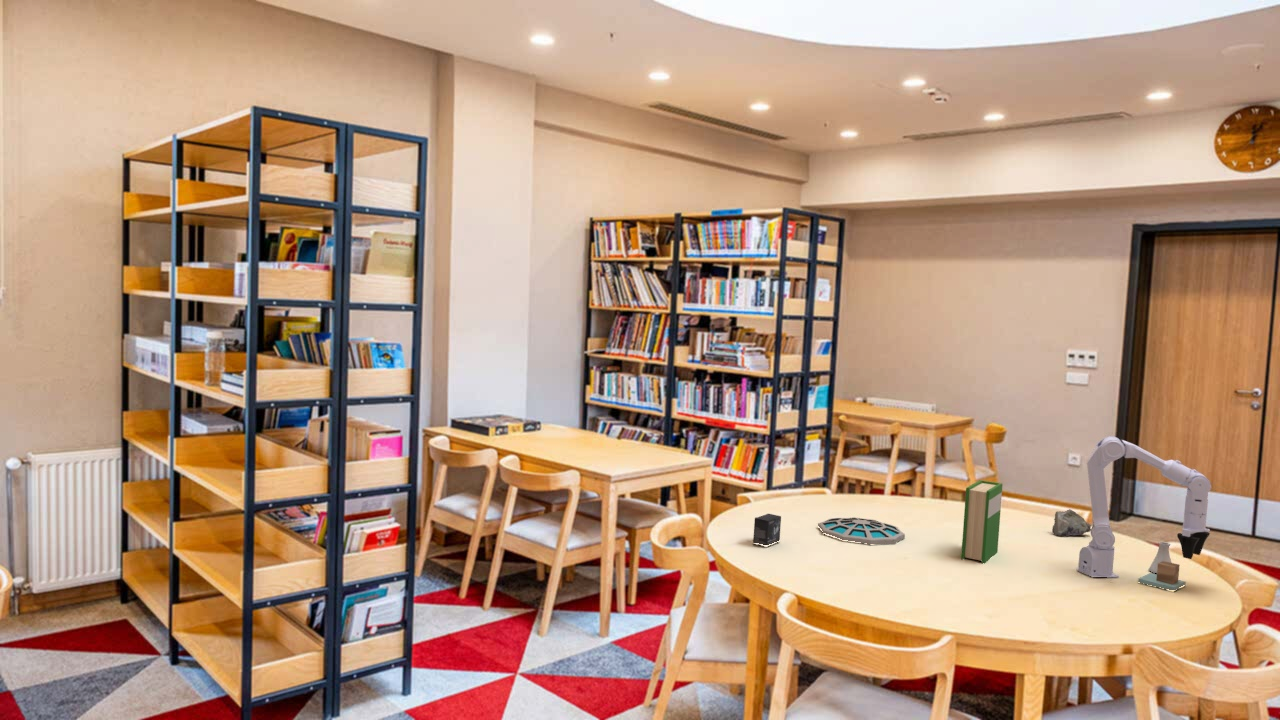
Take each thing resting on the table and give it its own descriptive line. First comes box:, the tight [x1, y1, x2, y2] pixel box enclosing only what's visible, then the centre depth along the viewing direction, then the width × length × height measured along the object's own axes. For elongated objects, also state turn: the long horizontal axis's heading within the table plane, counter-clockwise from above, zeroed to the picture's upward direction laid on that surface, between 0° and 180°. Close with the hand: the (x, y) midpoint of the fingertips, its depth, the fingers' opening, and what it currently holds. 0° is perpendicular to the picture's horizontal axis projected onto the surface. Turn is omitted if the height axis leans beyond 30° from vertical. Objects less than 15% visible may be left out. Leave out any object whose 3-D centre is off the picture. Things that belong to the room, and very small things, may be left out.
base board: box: [1137, 572, 1187, 590], centre depth 265 cm, size 10×10×2 cm
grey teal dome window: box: [817, 516, 906, 545], centre depth 310 cm, size 31×29×5 cm
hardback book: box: [960, 480, 1003, 564], centre depth 288 cm, size 18×7×24 cm, turn 144°
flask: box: [1147, 541, 1173, 574], centre depth 277 cm, size 7×7×10 cm
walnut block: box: [1156, 561, 1181, 585], centre depth 263 cm, size 4×4×6 cm
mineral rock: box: [1051, 508, 1093, 537], centre depth 321 cm, size 13×11×10 cm
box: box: [752, 513, 782, 545], centre depth 291 cm, size 9×6×10 cm, turn 143°
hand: (1191, 556), depth 263 cm, fingers open, 7 cm apart
